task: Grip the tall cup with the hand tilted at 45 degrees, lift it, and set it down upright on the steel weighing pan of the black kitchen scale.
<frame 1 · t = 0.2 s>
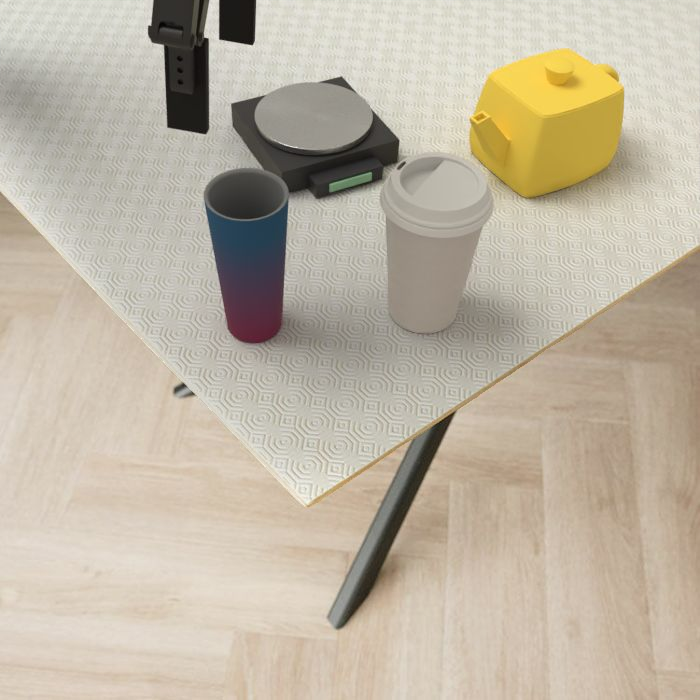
hand: (214, 81, 67), 24 cm above the table, tool pointing down, fingers open, 13 cm apart
cup: (254, 324, 84), on the table
scale: (313, 143, 103), on the table
scale pan: (313, 117, 100), point 4 cm above the table, slide at 0.0 cm
teapot: (532, 161, 102), on the table
coffee cup: (422, 310, 86), on the table
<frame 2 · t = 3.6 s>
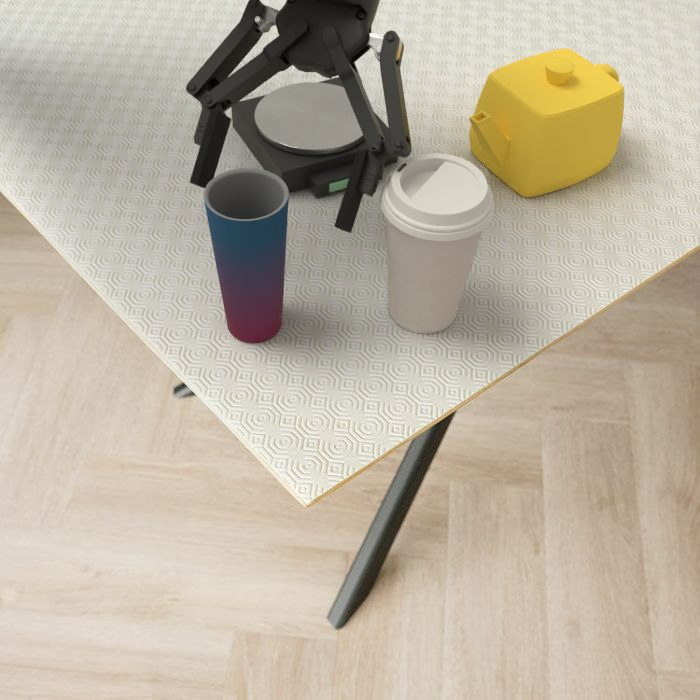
hand: (269, 208, 78), 11 cm above the table, tool tilted 45°, fingers open, 13 cm apart
coffee cup: (422, 309, 86), on the table, touching gripper
everything else where it was.
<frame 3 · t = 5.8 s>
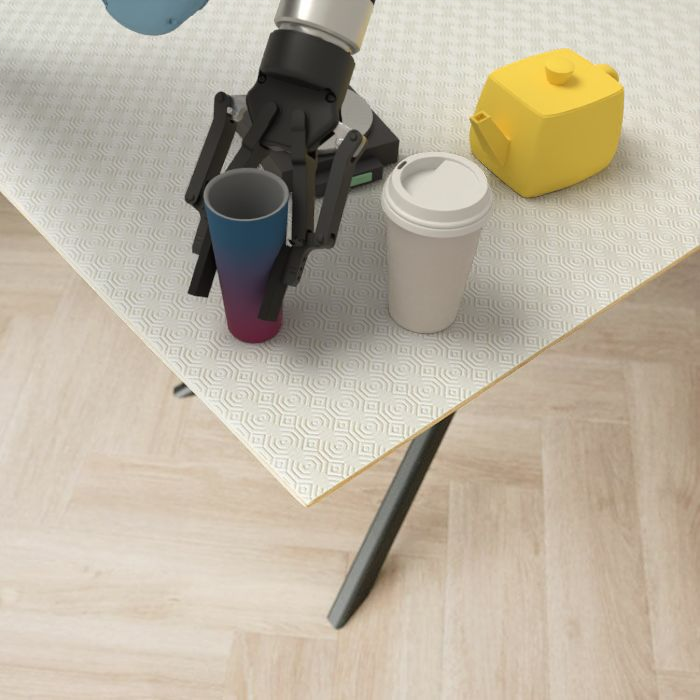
hand: (232, 307, 78), 5 cm above the table, tool tilted 45°, fingers closed on cup, 6 cm apart
cup: (254, 324, 84), on the table, touching gripper
coffee cup: (422, 310, 86), on the table
everything else where it was.
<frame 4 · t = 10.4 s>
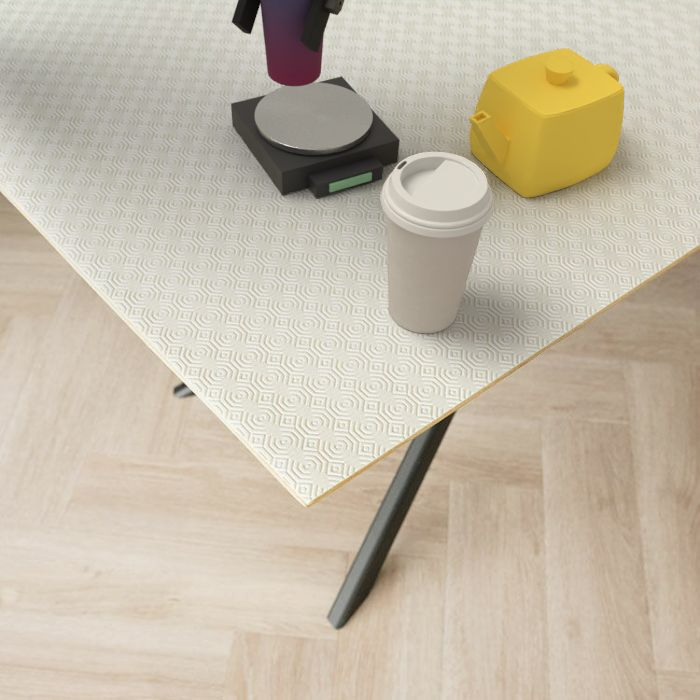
hand: (274, 36, 80), 20 cm above the table, tool tilted 45°, fingers closed on cup, 6 cm apart
cup: (294, 74, 86), point 14 cm above the table, touching gripper
everything else where it was.
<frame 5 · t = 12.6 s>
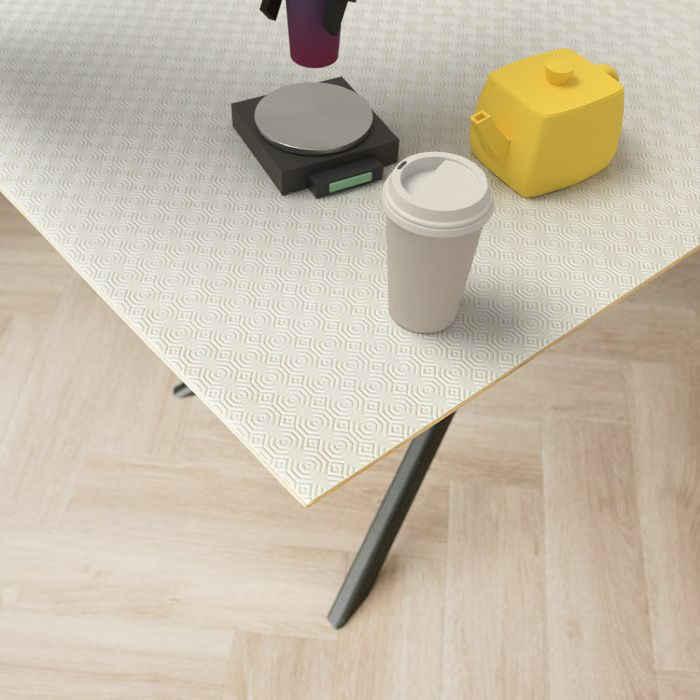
hand: (298, 22, 89), 16 cm above the table, tool tilted 45°, fingers closed on cup, 6 cm apart
cup: (314, 57, 95), point 11 cm above the table, touching gripper
everything else where it was.
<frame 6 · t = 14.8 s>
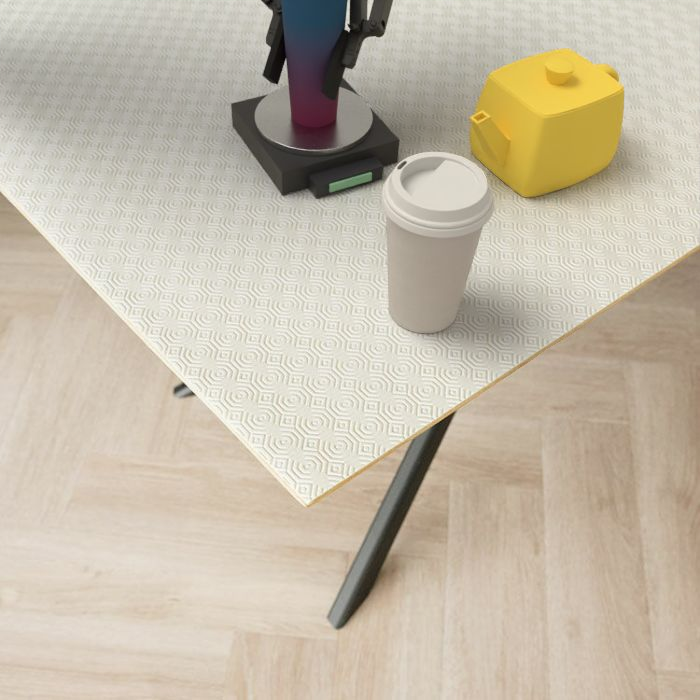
hand: (299, 87, 94), 9 cm above the table, tool tilted 45°, fingers closed on cup, 6 cm apart
cup: (313, 116, 100), point 4 cm above the table, touching gripper, scale pan
scale pan: (313, 118, 100), point 3 cm above the table, slide at -0.1 cm, touching cup, scale
everything else where it was.
when the fingers open (9 cm above the table, at t = 14.9 s): cup stays where it is, resting on scale pan.
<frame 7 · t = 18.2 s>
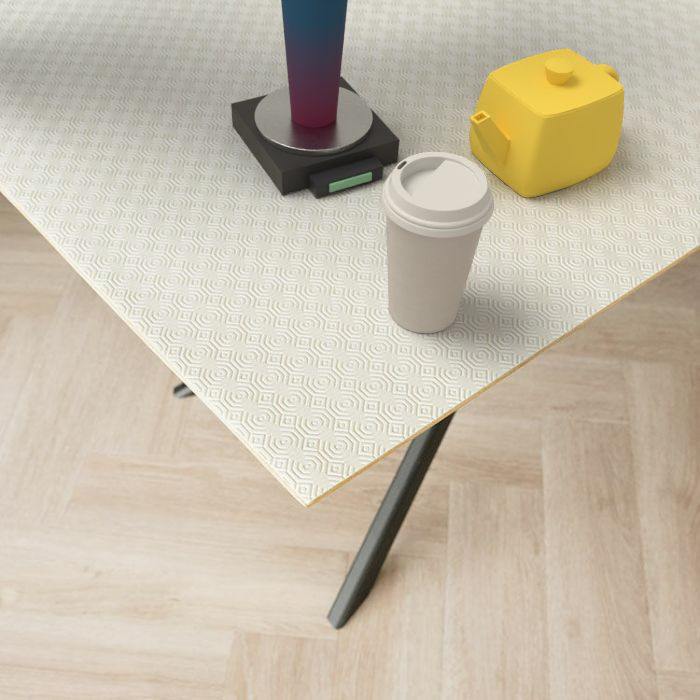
cup: (313, 116, 100), point 4 cm above the table, touching scale pan
everything else where it was.
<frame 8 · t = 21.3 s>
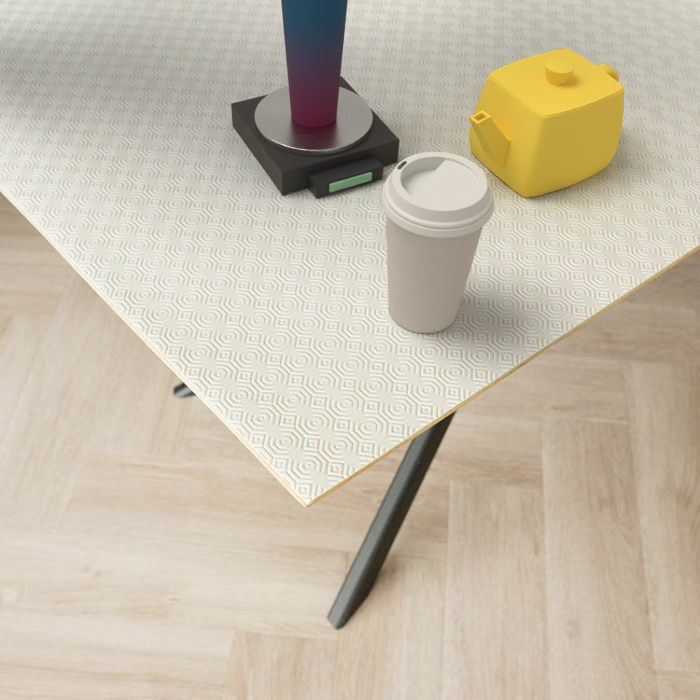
nothing on the table moved.
at the end: cup inside the target area on the scale (0.0 cm from its centre), point 3.6 cm above the scale's base; cup tilted 0°; cup touching scale pan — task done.
